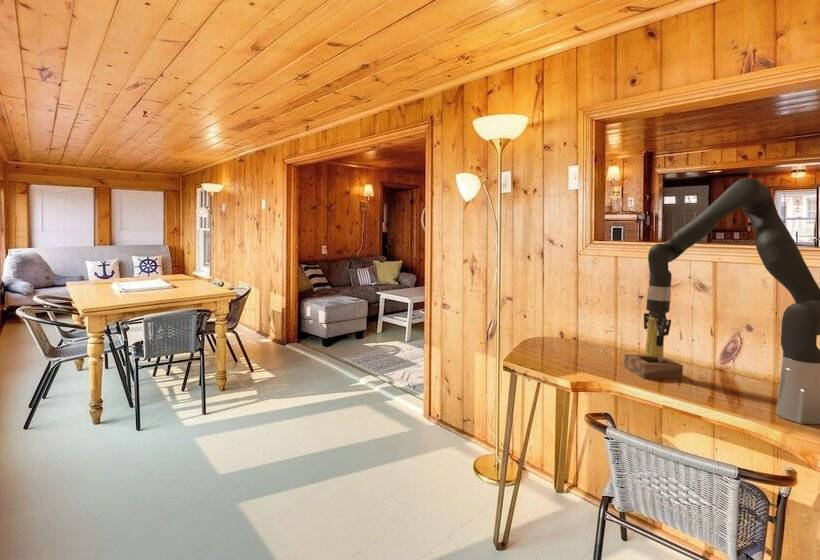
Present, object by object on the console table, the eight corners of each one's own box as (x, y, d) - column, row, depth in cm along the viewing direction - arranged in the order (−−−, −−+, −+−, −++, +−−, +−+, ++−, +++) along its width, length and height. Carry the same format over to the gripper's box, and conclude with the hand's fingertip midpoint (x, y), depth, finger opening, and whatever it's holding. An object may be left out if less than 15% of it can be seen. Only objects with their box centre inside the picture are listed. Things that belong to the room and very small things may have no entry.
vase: (665, 358, 170) (668, 319, 168) (647, 357, 171) (650, 318, 170) (660, 354, 176) (663, 316, 174) (642, 353, 177) (645, 315, 176)
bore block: (681, 379, 168) (683, 365, 167) (643, 378, 167) (644, 364, 167) (659, 367, 182) (660, 354, 181) (623, 366, 181) (624, 354, 180)
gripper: (680, 301, 164) (676, 349, 166) (657, 295, 179) (653, 339, 180) (659, 301, 164) (655, 348, 166) (638, 295, 178) (634, 339, 180)
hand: (654, 343), depth 173 cm, fingers closed on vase, 5 cm apart
